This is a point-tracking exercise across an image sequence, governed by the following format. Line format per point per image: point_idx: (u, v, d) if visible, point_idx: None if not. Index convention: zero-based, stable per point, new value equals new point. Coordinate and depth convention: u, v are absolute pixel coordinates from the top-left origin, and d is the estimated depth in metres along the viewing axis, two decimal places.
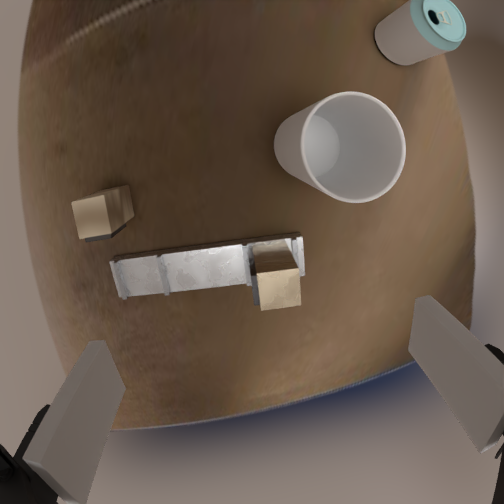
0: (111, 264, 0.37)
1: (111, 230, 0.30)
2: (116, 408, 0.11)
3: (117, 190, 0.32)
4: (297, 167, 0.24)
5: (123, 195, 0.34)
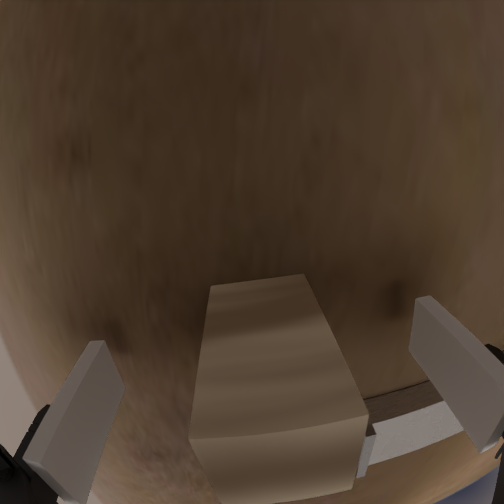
0: None
1: None
2: (116, 408, 0.11)
3: None
4: None
5: None
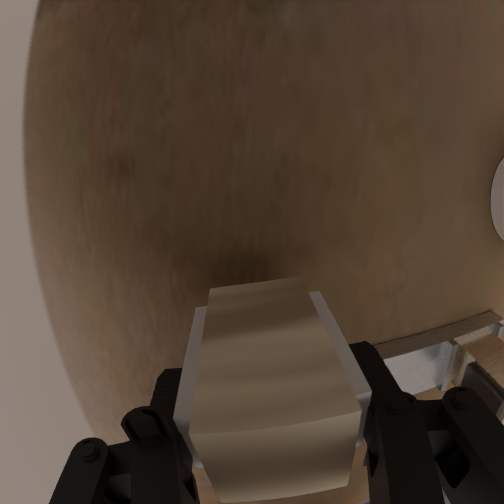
0: None
1: None
2: None
3: None
4: None
5: None
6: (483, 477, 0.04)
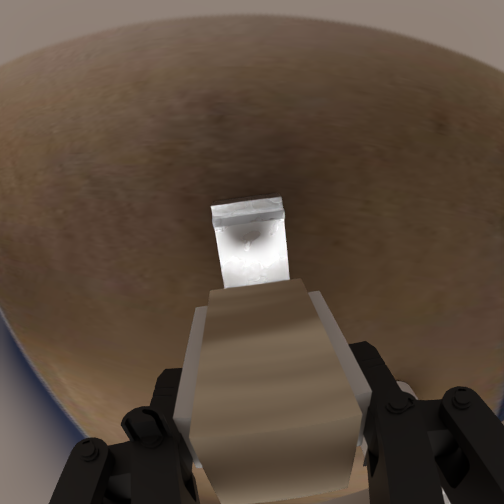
0: (276, 200, 0.22)
1: None
2: None
3: None
4: None
5: None
6: (483, 477, 0.04)
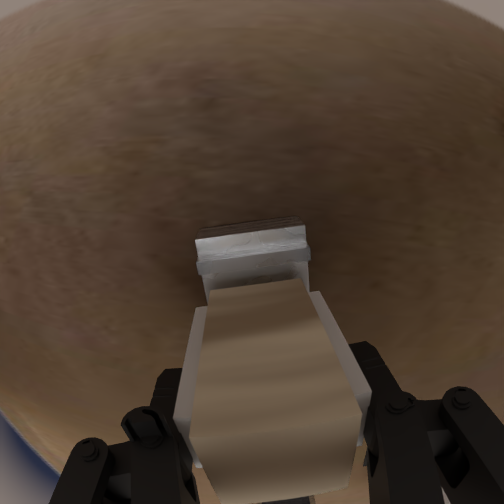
0: (296, 230, 0.14)
1: None
2: None
3: None
4: None
5: None
6: (483, 477, 0.04)
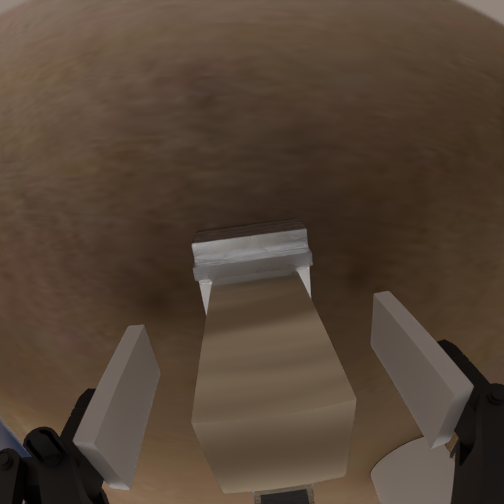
0: (297, 234, 0.14)
1: None
2: (154, 391, 0.12)
3: None
4: None
5: None
6: None
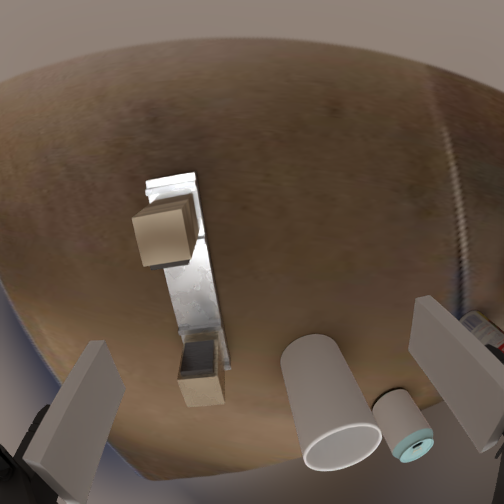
0: (190, 175, 0.30)
1: (190, 255, 0.24)
2: (116, 408, 0.11)
3: (187, 201, 0.27)
4: (322, 406, 0.28)
5: (191, 207, 0.29)
6: None
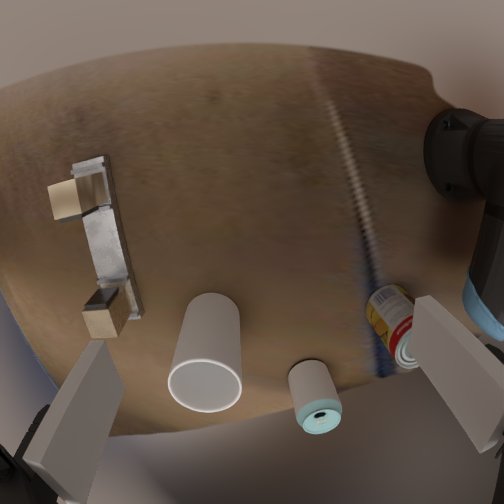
0: (100, 158, 0.37)
1: (81, 210, 0.31)
2: (116, 408, 0.11)
3: (89, 175, 0.34)
4: (187, 344, 0.34)
5: (96, 180, 0.36)
6: None
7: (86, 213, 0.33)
